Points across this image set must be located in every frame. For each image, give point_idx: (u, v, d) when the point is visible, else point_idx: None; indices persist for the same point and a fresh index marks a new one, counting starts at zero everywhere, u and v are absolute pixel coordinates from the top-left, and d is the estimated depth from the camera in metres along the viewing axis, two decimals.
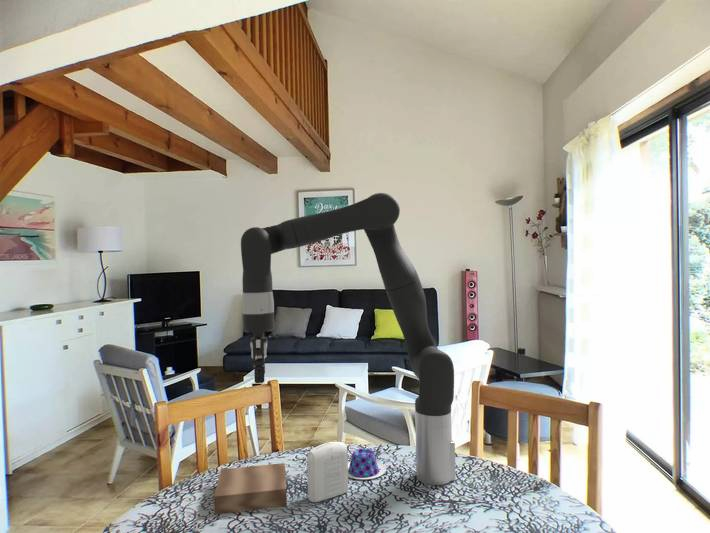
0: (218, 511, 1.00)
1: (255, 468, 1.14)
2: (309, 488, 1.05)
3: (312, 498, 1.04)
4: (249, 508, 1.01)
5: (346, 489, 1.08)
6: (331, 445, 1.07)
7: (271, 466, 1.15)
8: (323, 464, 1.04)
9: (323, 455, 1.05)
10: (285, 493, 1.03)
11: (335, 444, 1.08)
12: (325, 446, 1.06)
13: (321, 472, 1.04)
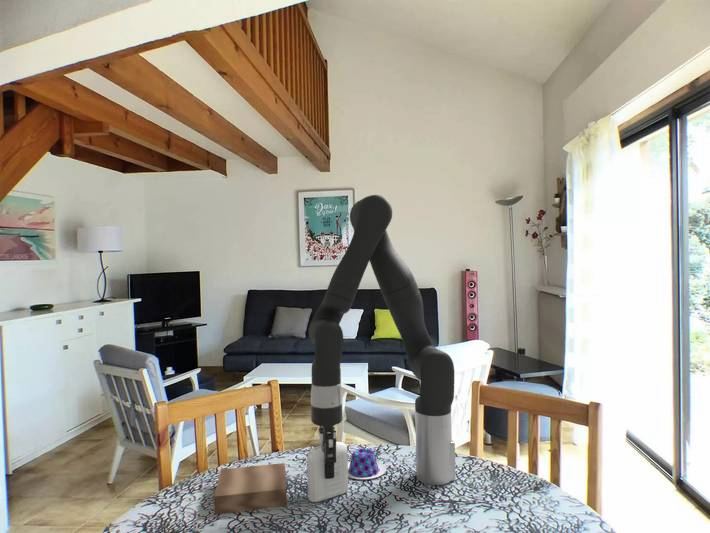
0: (218, 511, 1.00)
1: (255, 468, 1.14)
2: (309, 488, 1.05)
3: (312, 498, 1.04)
4: (249, 508, 1.01)
5: (346, 489, 1.08)
6: None
7: (271, 466, 1.15)
8: (323, 464, 1.04)
9: (323, 455, 1.05)
10: (285, 493, 1.03)
11: None
12: None
13: (321, 472, 1.04)
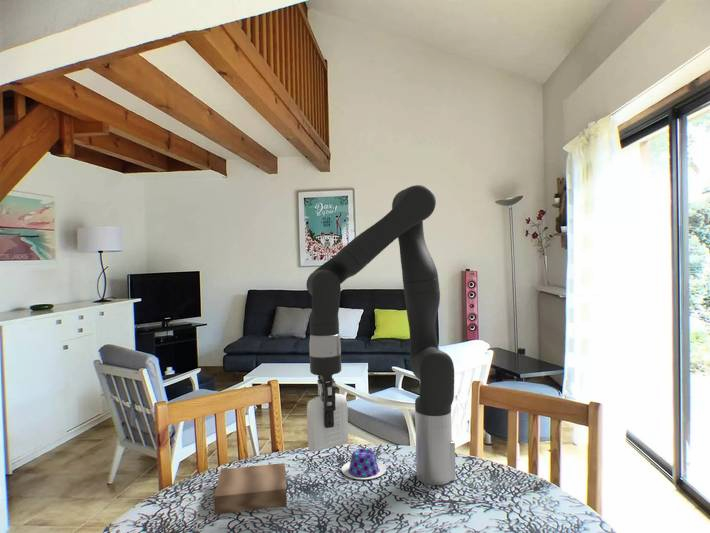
0: (218, 511, 1.00)
1: (255, 468, 1.14)
2: (309, 438, 1.05)
3: (312, 447, 1.04)
4: (249, 508, 1.01)
5: (346, 440, 1.08)
6: None
7: (271, 466, 1.15)
8: (322, 413, 1.05)
9: (322, 404, 1.05)
10: (285, 493, 1.03)
11: None
12: None
13: (320, 421, 1.04)
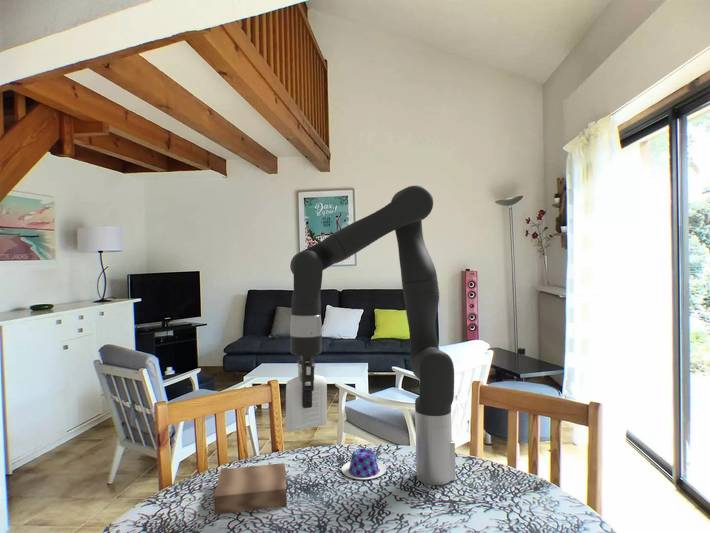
0: (218, 511, 1.00)
1: (255, 468, 1.14)
2: (287, 417, 1.05)
3: (289, 427, 1.04)
4: (249, 508, 1.01)
5: (324, 421, 1.08)
6: None
7: (271, 466, 1.15)
8: (301, 393, 1.05)
9: (301, 384, 1.05)
10: (285, 493, 1.03)
11: (314, 376, 1.08)
12: None
13: (299, 401, 1.04)
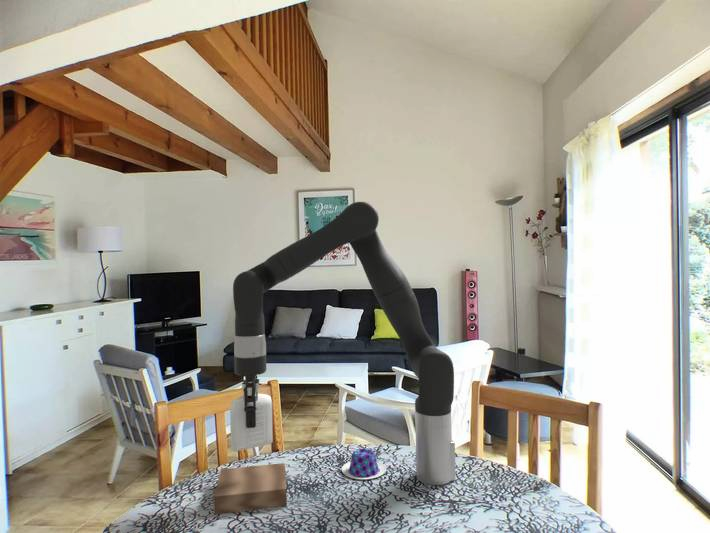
0: (218, 511, 1.00)
1: (255, 468, 1.14)
2: (231, 437, 1.05)
3: (233, 447, 1.05)
4: (249, 508, 1.01)
5: (270, 440, 1.09)
6: None
7: (271, 466, 1.15)
8: (244, 413, 1.05)
9: (244, 404, 1.05)
10: (285, 493, 1.03)
11: (259, 395, 1.08)
12: None
13: (242, 421, 1.05)
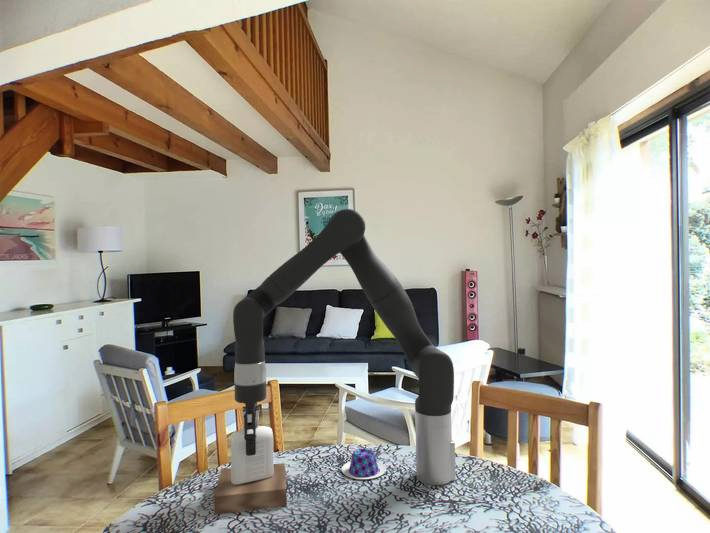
0: (218, 511, 1.00)
1: None
2: (231, 470, 1.05)
3: (233, 480, 1.05)
4: (249, 508, 1.01)
5: (271, 473, 1.08)
6: None
7: None
8: (245, 447, 1.05)
9: None
10: (285, 493, 1.03)
11: (260, 428, 1.08)
12: (248, 430, 1.07)
13: (242, 455, 1.05)
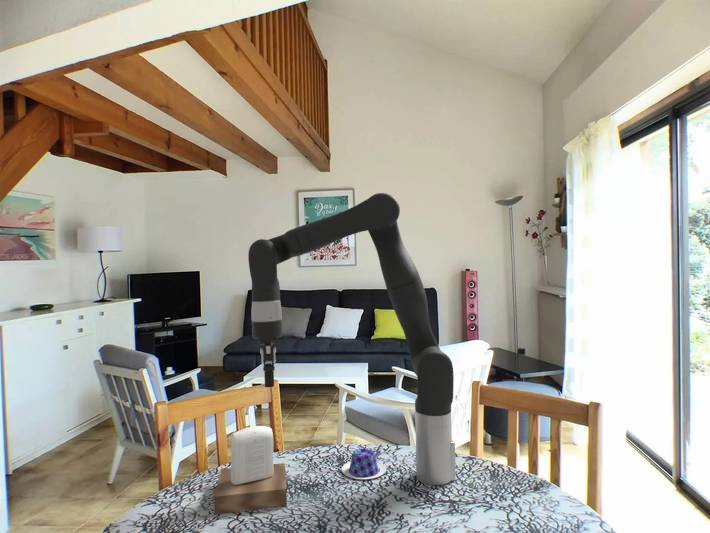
0: (218, 511, 1.00)
1: None
2: (231, 470, 1.05)
3: (233, 480, 1.05)
4: (249, 508, 1.01)
5: (271, 473, 1.08)
6: (255, 429, 1.07)
7: None
8: (244, 447, 1.05)
9: (244, 438, 1.05)
10: (285, 493, 1.03)
11: (260, 428, 1.08)
12: (248, 430, 1.07)
13: (242, 455, 1.05)
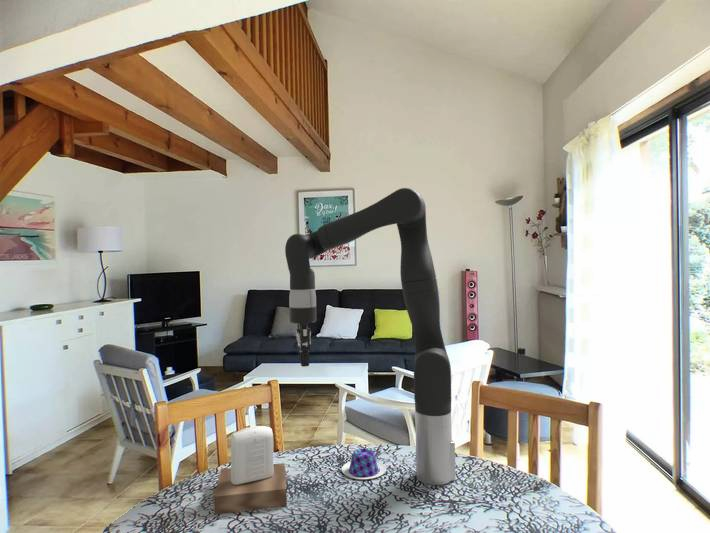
0: (218, 511, 1.00)
1: None
2: (231, 470, 1.05)
3: (233, 480, 1.05)
4: (249, 508, 1.01)
5: (271, 473, 1.08)
6: (255, 429, 1.07)
7: None
8: (244, 447, 1.05)
9: (244, 438, 1.05)
10: (285, 493, 1.03)
11: (260, 428, 1.08)
12: (248, 430, 1.07)
13: (242, 455, 1.05)
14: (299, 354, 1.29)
